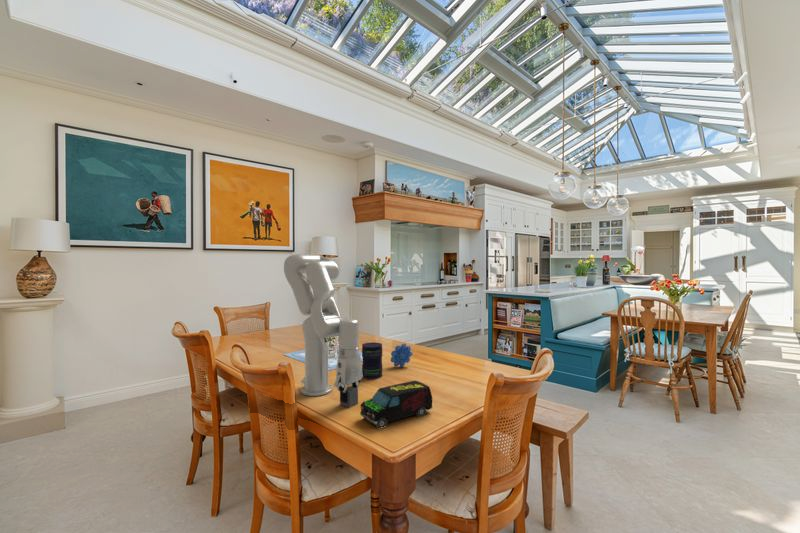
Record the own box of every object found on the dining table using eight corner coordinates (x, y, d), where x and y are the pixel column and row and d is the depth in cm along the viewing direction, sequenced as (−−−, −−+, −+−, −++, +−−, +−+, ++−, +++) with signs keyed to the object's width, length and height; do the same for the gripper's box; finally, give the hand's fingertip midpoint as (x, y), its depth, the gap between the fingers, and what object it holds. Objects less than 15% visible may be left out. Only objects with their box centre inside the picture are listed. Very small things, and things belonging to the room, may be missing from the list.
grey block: (340, 405, 135) (340, 389, 135) (348, 401, 139) (348, 385, 139) (349, 408, 132) (349, 391, 132) (358, 403, 136) (357, 388, 136)
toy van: (358, 419, 123) (358, 390, 123) (416, 403, 136) (416, 377, 136) (373, 431, 114) (373, 400, 114) (434, 413, 127) (434, 385, 127)
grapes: (410, 363, 190) (410, 341, 190) (413, 367, 183) (413, 344, 183) (389, 365, 188) (389, 342, 188) (391, 368, 181) (391, 345, 181)
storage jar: (380, 379, 164) (380, 347, 164) (359, 378, 166) (359, 346, 166) (384, 373, 174) (384, 342, 174) (364, 372, 175) (364, 342, 175)
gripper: (339, 358, 126) (339, 409, 126) (370, 349, 140) (371, 395, 140) (325, 355, 131) (325, 404, 131) (356, 346, 144) (356, 391, 145)
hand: (349, 399), depth 135 cm, fingers open, 5 cm apart
